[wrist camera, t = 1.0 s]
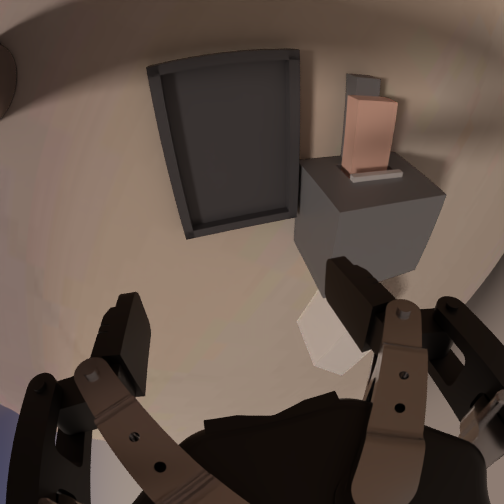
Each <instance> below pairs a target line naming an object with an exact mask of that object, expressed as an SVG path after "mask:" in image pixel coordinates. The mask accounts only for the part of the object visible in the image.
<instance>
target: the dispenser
mask: <svg viewBox="0 0 504 504" xmlns="http://www.w3.org/2000/svg"><path fill="white" fill-rule="evenodd" d="M380 82H381V79H378V78H375V77H373V76H369V75H359V74H347V77H346V98H345V113H344V126H343V137H342V148H341V156H333V157H323V158H314V159H305V160H299V182H298V206H297V217H295V231H294V242H295V244H296V246H297V248H298V250H299V252H300V254H301V256H302V257H303V259H304V261H305V263H306V265H307V267H308V269H309V271H310V273H311V275H312V277H313V279H314V281H315V283H316V285H317V287H318V289H319V291H320V293H321V296H322V298H326V296H325V274H326V262H327V260H328V259H330V258H336V257H341V256H345V257H346V258H347V259H348V260H349V261H350V262H351V263H352V264H353V265H358V266H360V267H362V268H364V269H366V270H367V271H369V272H370V273H371V274H372V275H373V277H375V278H376V279H377V280H378V282H380V281H383V280H386V279H389V278H392V277H395V276H398V275H401V274H404V273H407V272H410V271H413V270H415V268H416V266H417V264H418V262H419V260H420V258H421V256H422V254H423V251H424V249H425V247H426V245H427V243H428V240H429V238H430V236H431V233H432V231H433V229H434V226H435V224H436V221H437V219H438V216H439V214H440V211H441V208H442V206H443V203H444V200H445V198H446V194H445V193H444V192H443V191H442V190H441V189H440V188H439V187H437V186H436V185H435V184H434V183H433V182H432V181H431V180H429V179H428V178H427V177H426V176H425V175H423V174H422V173H421V172H420V171H419V170H417V169H416V168H415V167H414V166H412V165H411V164H410V163H409V162H407V161H406V160H405V159H403V158H402V157H401V156H399V155H398V154H397V153H395V152H390V156H389V162H388V167H387V170H385V171H374V172H365V173H355V174H350V179H349V178H348V177H347V176H346V175H345V174H344V173H343V172H342V171H341V164H342V156H343V146H344V136H345V125H346V112H347V97H348V95H361V96H377V97H379V94H380Z"/></svg>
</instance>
